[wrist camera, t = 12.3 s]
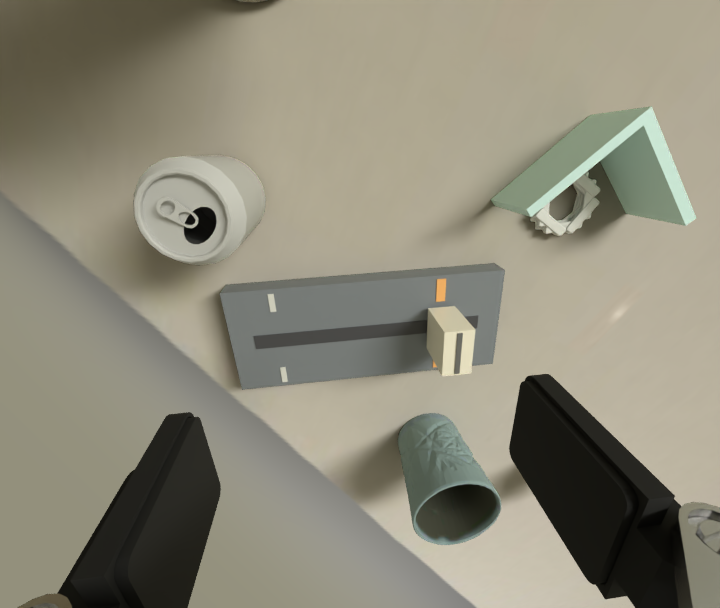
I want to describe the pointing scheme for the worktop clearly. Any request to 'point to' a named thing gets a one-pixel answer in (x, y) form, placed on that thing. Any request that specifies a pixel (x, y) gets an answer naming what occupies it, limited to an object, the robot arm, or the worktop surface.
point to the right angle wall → (621, 163)
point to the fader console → (354, 322)
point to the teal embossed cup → (445, 482)
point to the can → (198, 207)
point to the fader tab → (450, 340)
